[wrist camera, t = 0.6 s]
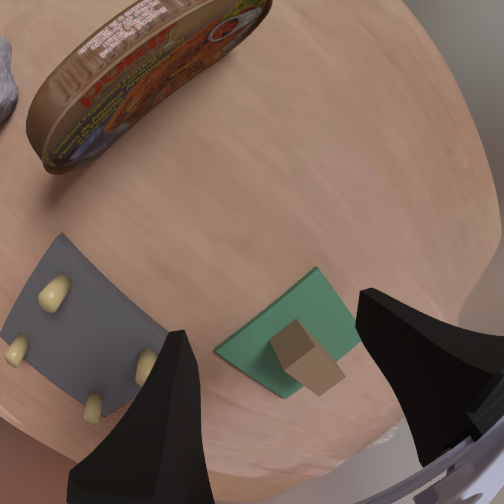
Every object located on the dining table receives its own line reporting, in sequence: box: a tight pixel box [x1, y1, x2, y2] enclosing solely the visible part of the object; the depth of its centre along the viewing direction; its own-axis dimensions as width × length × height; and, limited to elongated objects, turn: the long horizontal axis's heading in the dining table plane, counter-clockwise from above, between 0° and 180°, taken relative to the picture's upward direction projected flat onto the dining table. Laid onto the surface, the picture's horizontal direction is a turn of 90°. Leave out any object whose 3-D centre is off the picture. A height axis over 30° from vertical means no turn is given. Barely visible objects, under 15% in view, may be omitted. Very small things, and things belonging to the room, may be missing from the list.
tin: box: [26, 0, 273, 175], centre depth 11 cm, size 15×3×8 cm, turn 128°
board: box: [215, 267, 361, 399], centre depth 22 cm, size 11×11×5 cm
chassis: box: [0, 233, 169, 425], centre depth 17 cm, size 14×14×4 cm
